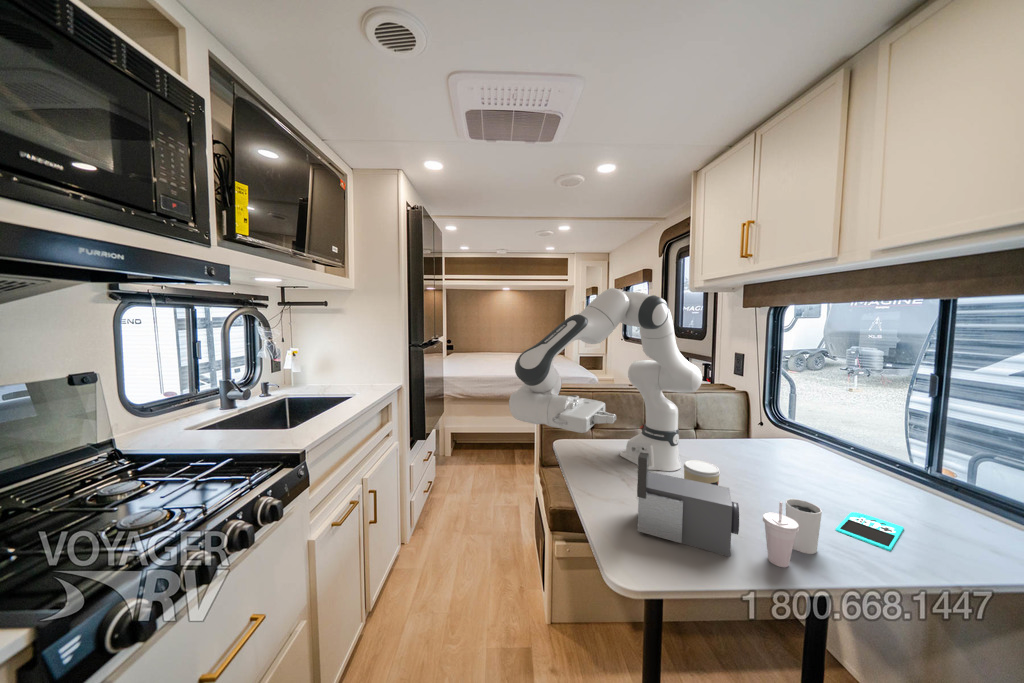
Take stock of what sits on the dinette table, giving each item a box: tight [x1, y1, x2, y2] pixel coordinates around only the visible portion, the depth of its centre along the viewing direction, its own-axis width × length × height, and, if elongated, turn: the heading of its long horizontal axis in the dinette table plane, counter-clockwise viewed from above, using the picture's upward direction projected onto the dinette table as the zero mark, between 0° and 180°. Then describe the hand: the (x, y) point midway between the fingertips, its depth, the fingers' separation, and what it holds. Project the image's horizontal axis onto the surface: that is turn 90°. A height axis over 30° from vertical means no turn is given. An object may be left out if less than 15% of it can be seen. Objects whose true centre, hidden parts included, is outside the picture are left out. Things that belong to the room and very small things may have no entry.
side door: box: [636, 452, 683, 544], centre depth 84 cm, size 10×4×20 cm, turn 62°
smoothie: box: [762, 501, 799, 568], centre depth 78 cm, size 6×6×14 cm
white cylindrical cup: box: [785, 498, 823, 555], centre depth 83 cm, size 7×7×10 cm
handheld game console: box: [835, 511, 905, 552], centre depth 90 cm, size 10×16×1 cm, turn 124°
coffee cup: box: [683, 459, 721, 486], centre depth 101 cm, size 9×9×12 cm
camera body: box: [648, 471, 740, 558], centre depth 88 cm, size 22×10×12 cm, turn 61°
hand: (615, 419), depth 88 cm, fingers closed
